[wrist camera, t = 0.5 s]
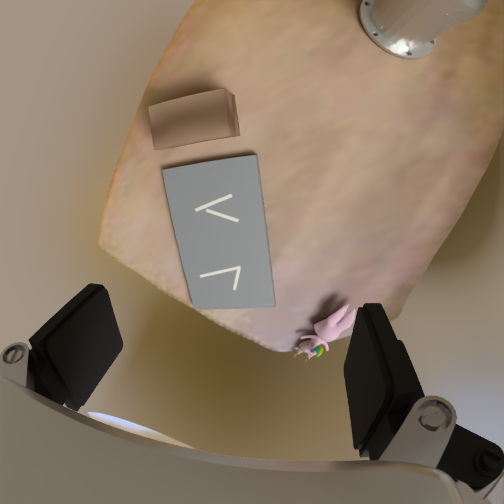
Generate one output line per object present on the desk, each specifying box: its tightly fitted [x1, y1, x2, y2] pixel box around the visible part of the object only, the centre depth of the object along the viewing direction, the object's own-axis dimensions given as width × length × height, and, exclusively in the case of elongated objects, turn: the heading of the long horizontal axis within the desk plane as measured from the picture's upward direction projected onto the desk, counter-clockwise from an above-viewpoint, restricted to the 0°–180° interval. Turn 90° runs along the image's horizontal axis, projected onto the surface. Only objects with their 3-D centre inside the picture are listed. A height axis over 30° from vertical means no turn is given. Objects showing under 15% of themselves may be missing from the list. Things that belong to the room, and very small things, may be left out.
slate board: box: [162, 154, 275, 309], centre depth 43 cm, size 24×14×2 cm, turn 8°
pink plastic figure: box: [294, 304, 355, 360], centre depth 46 cm, size 6×6×15 cm
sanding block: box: [148, 88, 240, 150], centre depth 34 cm, size 6×10×7 cm, turn 97°
